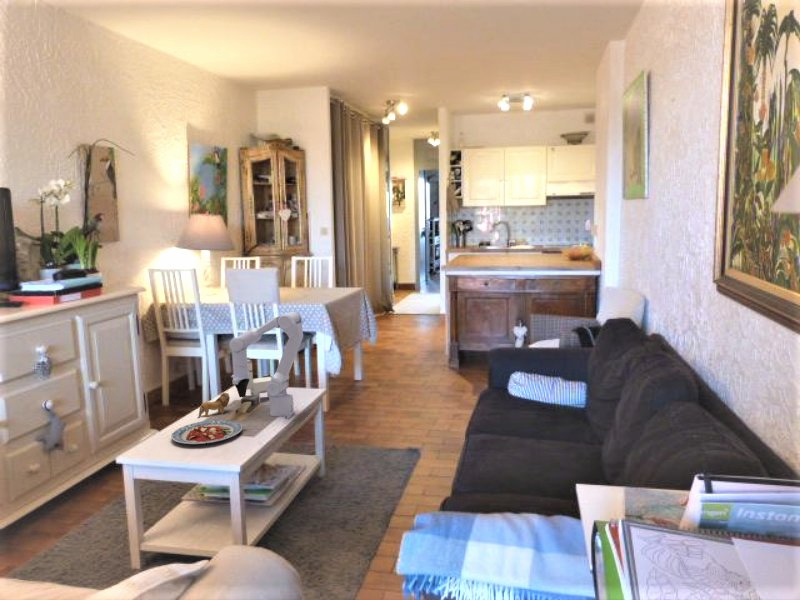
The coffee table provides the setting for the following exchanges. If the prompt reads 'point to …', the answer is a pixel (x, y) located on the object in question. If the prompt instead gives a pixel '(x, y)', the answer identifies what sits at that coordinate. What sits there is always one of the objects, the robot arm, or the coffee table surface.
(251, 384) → the toy llama
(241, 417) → the cradle
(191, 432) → the ceramic plate
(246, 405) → the slat
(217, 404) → the lion figurine
